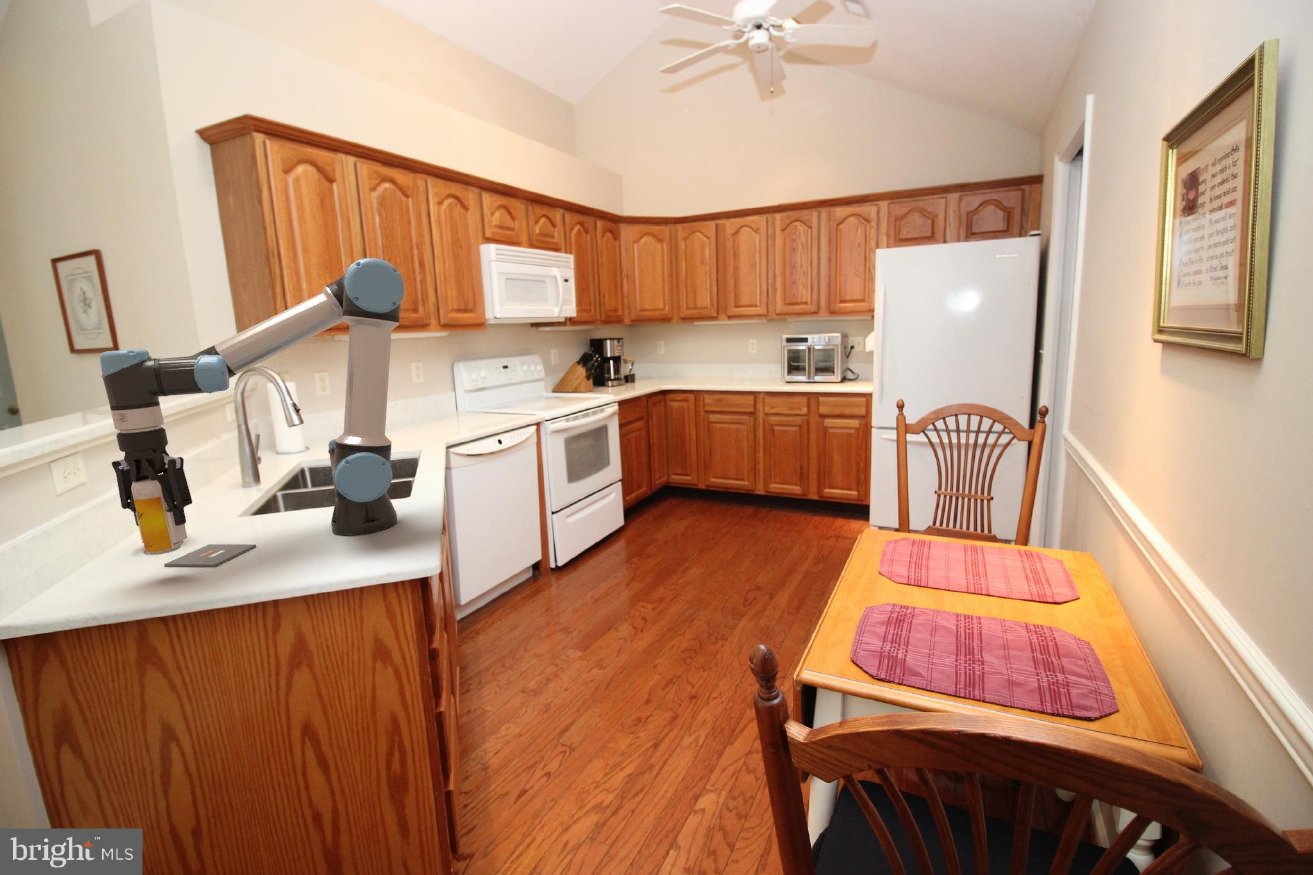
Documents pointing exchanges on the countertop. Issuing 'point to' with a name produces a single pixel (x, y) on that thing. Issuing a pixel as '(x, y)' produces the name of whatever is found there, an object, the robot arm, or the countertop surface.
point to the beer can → (153, 517)
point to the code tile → (210, 555)
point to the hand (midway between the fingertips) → (165, 540)
